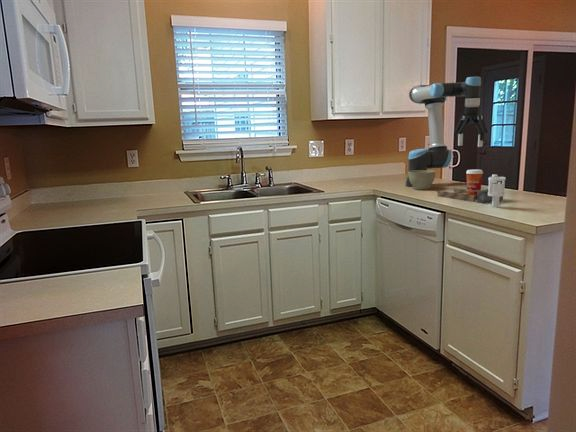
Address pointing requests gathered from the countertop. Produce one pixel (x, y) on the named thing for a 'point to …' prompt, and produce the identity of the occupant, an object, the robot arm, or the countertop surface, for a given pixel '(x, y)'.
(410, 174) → the planter bowl
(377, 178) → the countertop surface
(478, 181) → the coffee cup
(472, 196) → the guide channel
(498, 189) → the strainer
